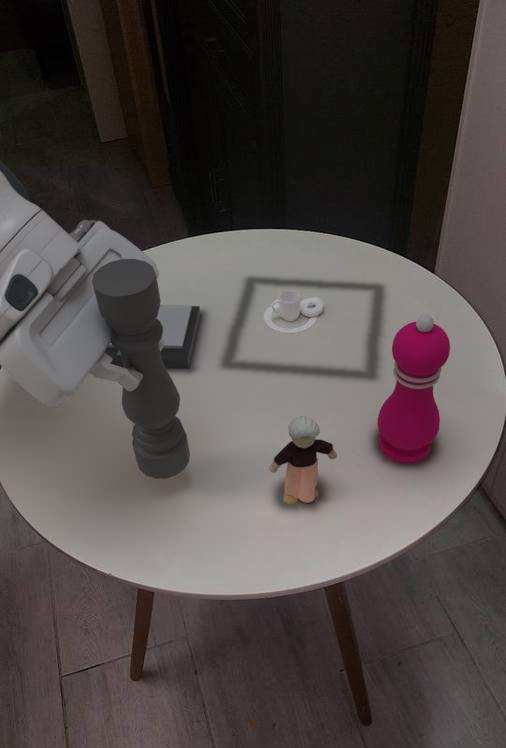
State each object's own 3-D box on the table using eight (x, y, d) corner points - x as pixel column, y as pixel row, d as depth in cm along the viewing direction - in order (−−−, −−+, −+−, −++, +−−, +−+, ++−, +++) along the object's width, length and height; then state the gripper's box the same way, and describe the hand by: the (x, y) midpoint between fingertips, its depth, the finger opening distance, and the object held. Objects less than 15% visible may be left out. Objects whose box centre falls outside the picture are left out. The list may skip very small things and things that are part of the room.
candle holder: (151, 487, 77) (106, 307, 58) (128, 452, 80) (77, 272, 61) (199, 463, 79) (170, 281, 60) (174, 430, 82) (139, 249, 63)
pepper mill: (362, 447, 85) (375, 317, 70) (400, 416, 88) (419, 286, 73) (408, 478, 81) (432, 349, 66) (446, 446, 84) (477, 315, 69)
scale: (92, 369, 97) (87, 354, 95) (111, 316, 105) (107, 301, 103) (189, 371, 96) (186, 356, 94) (201, 317, 104) (198, 302, 102)
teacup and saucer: (325, 304, 104) (326, 281, 101) (319, 337, 99) (319, 315, 96) (268, 300, 105) (267, 278, 102) (259, 333, 100) (258, 311, 97)
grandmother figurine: (282, 518, 78) (278, 445, 69) (268, 494, 81) (263, 420, 71) (341, 494, 80) (345, 419, 71) (325, 471, 83) (328, 396, 73)
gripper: (75, 228, 72) (172, 318, 77) (-39, 351, 60) (86, 449, 65) (104, 194, 68) (205, 292, 73) (-12, 319, 55) (119, 427, 60)
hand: (148, 367), depth 69 cm, fingers closed on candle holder, 4 cm apart
